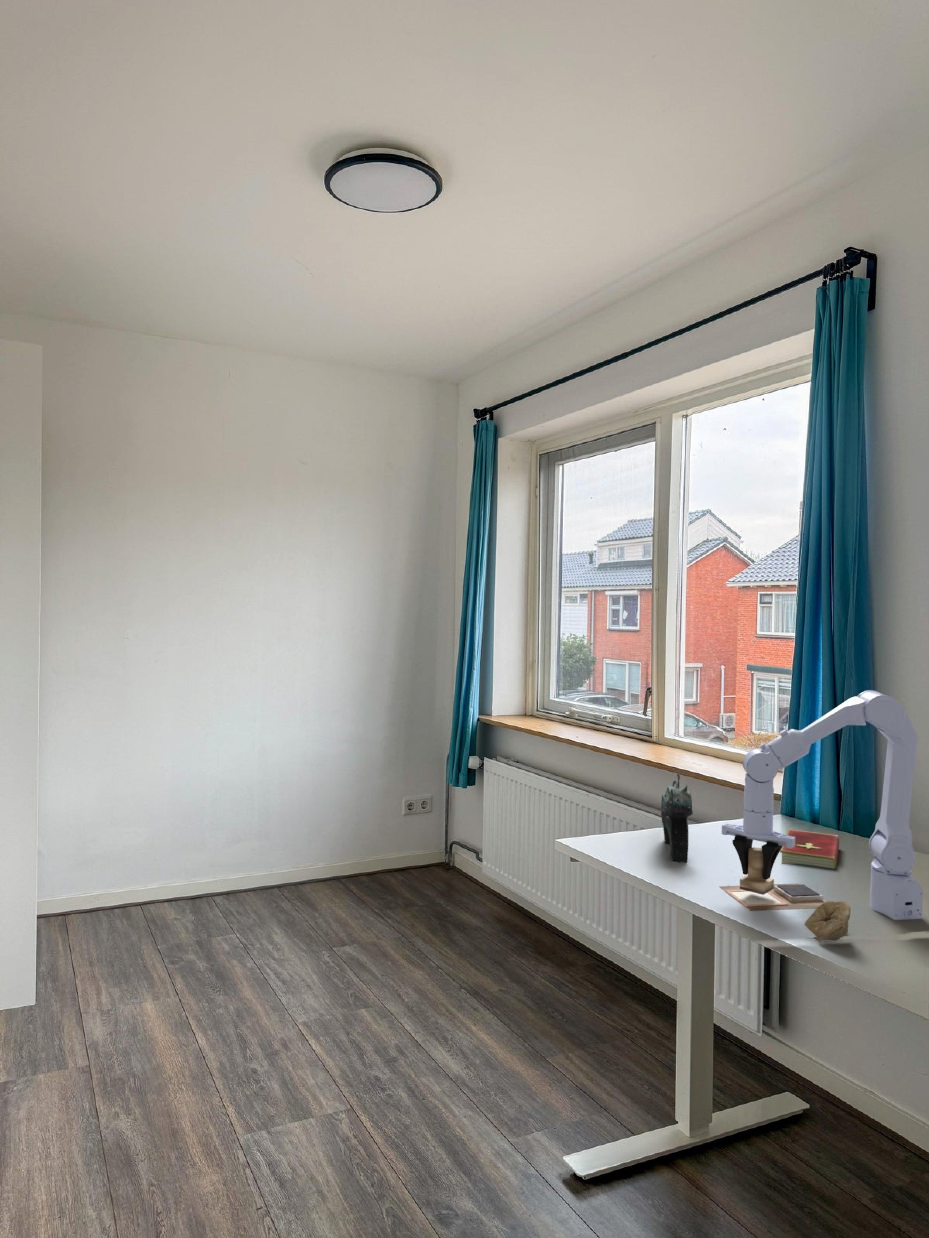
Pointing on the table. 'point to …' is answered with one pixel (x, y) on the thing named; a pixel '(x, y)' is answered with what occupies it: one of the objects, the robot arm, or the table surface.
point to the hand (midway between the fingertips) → (756, 875)
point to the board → (790, 904)
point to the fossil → (829, 920)
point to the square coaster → (755, 898)
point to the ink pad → (798, 893)
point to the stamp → (756, 874)
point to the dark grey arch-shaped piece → (676, 820)
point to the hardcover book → (811, 849)
